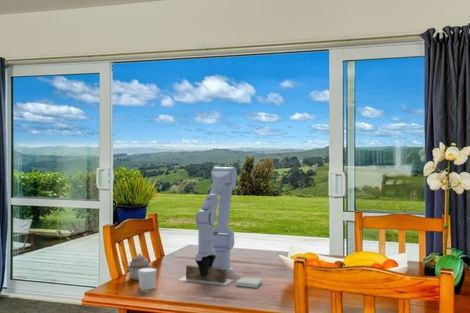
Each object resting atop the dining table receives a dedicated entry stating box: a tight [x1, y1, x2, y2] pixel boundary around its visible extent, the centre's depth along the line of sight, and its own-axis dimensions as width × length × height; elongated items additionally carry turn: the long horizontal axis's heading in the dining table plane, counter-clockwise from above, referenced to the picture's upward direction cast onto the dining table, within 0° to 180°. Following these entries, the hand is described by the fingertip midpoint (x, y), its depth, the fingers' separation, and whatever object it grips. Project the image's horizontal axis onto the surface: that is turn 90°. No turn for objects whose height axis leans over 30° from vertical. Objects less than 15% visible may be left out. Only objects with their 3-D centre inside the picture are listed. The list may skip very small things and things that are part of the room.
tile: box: [235, 276, 263, 289], centre depth 178 cm, size 2×7×8 cm
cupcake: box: [127, 253, 152, 281], centre depth 187 cm, size 9×9×10 cm
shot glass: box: [138, 267, 158, 292], centre depth 173 cm, size 7×7×7 cm
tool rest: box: [178, 275, 233, 286], centre depth 184 cm, size 20×8×1 cm, turn 70°
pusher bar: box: [185, 264, 227, 283], centre depth 184 cm, size 16×2×5 cm, turn 70°
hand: (205, 275), depth 184 cm, fingers open, 3 cm apart
